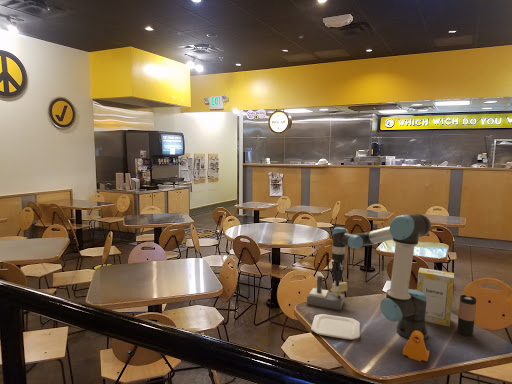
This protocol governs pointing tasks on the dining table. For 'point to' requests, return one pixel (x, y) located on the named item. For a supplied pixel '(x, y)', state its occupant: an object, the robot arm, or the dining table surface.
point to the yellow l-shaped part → (340, 288)
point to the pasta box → (436, 294)
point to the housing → (327, 301)
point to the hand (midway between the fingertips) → (336, 290)
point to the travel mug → (466, 315)
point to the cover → (319, 289)
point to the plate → (336, 326)
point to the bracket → (416, 347)
